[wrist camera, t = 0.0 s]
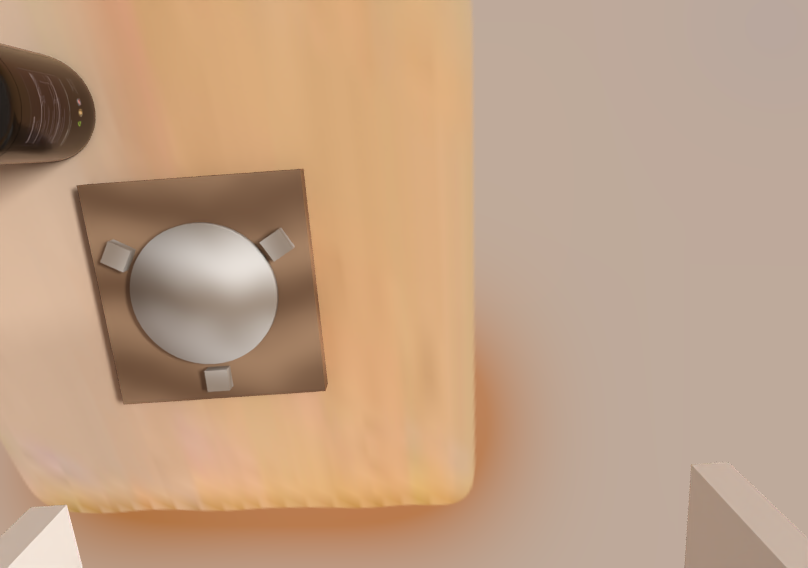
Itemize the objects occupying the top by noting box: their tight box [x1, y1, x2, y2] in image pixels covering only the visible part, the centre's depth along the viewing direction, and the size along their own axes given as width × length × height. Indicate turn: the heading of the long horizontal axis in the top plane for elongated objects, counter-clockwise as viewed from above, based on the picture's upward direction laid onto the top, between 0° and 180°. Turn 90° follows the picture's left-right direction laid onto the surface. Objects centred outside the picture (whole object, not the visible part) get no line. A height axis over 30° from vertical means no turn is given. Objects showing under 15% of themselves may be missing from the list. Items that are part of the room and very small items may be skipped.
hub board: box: [77, 169, 328, 404], centre depth 38 cm, size 16×15×2 cm
